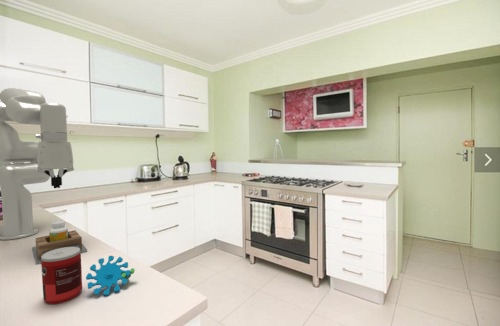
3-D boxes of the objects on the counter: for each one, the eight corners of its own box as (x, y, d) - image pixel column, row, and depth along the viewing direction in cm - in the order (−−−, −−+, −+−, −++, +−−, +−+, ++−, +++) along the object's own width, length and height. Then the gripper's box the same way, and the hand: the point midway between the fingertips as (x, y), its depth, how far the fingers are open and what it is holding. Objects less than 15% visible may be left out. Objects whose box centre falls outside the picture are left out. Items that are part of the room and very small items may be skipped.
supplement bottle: (48, 252, 87) (46, 225, 86) (52, 247, 92) (51, 221, 91) (67, 249, 89) (65, 222, 89) (70, 244, 94) (68, 219, 94)
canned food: (57, 287, 65) (55, 247, 65) (89, 286, 66) (87, 245, 65) (34, 306, 57) (31, 260, 57) (70, 303, 58) (68, 258, 58)
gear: (81, 296, 58) (89, 255, 65) (82, 304, 62) (90, 265, 68) (133, 290, 63) (135, 253, 69) (131, 298, 67) (134, 262, 73)
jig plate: (32, 249, 92) (31, 242, 92) (77, 239, 102) (76, 232, 101) (36, 264, 79) (35, 256, 79) (87, 251, 89) (86, 244, 89)
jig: (36, 248, 90) (35, 238, 90) (75, 240, 99) (75, 230, 99) (39, 258, 82) (38, 246, 82) (82, 248, 90) (81, 237, 90)
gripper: (27, 136, 82) (30, 191, 83) (80, 138, 92) (83, 186, 93) (26, 137, 87) (29, 188, 88) (77, 138, 98) (79, 184, 99)
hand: (56, 187), depth 91 cm, fingers closed
